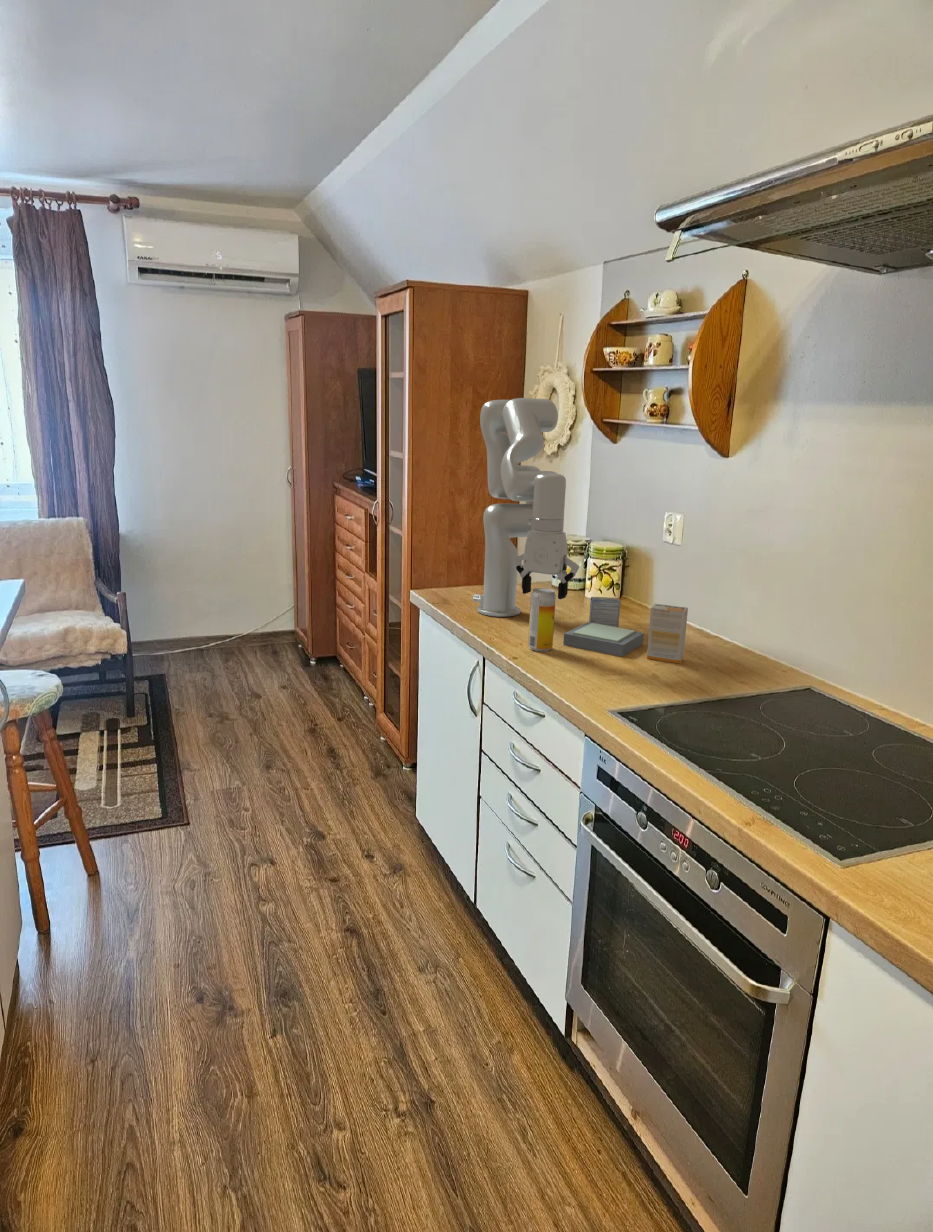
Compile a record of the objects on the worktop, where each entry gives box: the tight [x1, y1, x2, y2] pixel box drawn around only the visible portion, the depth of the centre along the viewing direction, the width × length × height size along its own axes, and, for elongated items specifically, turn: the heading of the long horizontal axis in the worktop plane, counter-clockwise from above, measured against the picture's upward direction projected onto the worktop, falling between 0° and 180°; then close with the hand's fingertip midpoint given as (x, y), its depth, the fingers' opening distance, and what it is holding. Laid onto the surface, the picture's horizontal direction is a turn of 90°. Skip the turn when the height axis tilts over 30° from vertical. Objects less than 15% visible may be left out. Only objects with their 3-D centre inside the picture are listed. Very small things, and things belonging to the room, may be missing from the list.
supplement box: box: [646, 603, 689, 664], centre depth 197 cm, size 8×5×13 cm, turn 65°
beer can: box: [527, 587, 557, 653], centre depth 202 cm, size 6×6×15 cm
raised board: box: [562, 622, 645, 658], centre depth 209 cm, size 16×14×4 cm
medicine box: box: [588, 596, 622, 628], centre depth 223 cm, size 8×4×9 cm, turn 84°
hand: (544, 595), depth 200 cm, fingers open, 9 cm apart
